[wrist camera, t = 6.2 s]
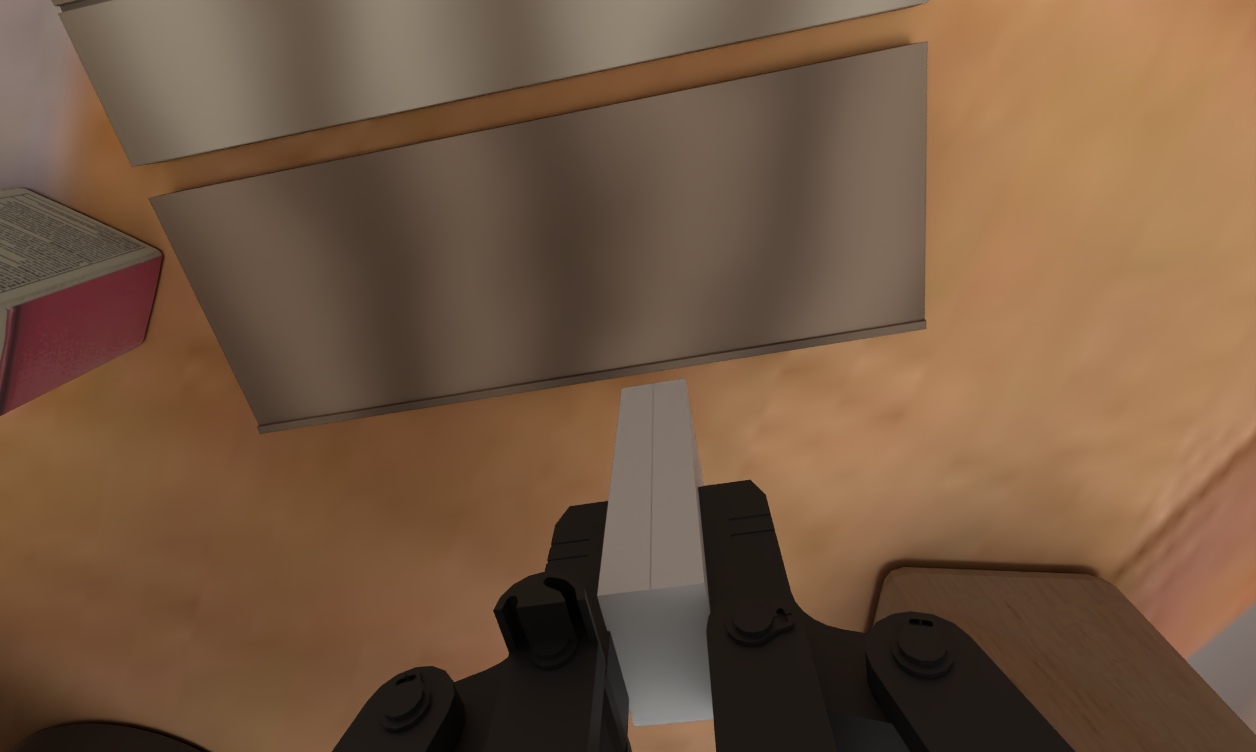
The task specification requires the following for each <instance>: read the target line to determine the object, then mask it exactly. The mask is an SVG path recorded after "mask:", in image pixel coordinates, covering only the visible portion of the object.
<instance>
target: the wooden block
mask: <svg viewBox="0 0 1256 752" xmlns="http://www.w3.org/2000/svg"><path fill="white" fill-rule="evenodd" d="M909 611H914V612H921V613H928V614H934V615H936V616H938V617H941V618H943V619H945V620H948V621H950V622H952V623H954V624H956V625H957V626H958V627H959V628H961V629H962V630H963V631H964V632H966V633H967V634H968V635H969V636H971V637H972V639H973V640H974V641H975V642H976V643H977V644H978V645H979V646H980V647H981V648H982V650H983V651H984V652H985V653H986V654H987V655H988V656H989V657H990V658H991V659H992V661H993V662H994V663H995V664H996V665H997V666H998V667H999V668H1000V669H1001V670H1002V671H1003V673H1004V674H1005V675H1006V676H1007V677H1008V678H1009V679H1010V680H1011V681H1012V682H1013V684H1014V685H1015V686H1016V687H1017V688H1018V689H1019V690H1020V691H1021V692H1022V693H1023V695H1024V696H1025V697H1026V698H1027V699H1028V700H1029V701H1030V702H1031V703H1032V704H1033V705H1034V707H1035V708H1036V709H1037V710H1038V711H1039V712H1040V713H1041V714H1042V715H1043V716H1044V718H1045V719H1046V720H1047V721H1048V722H1049V723H1050V724H1051V725H1052V726H1053V727H1054V729H1055V730H1056V731H1057V732H1058V733H1059V734H1060V735H1061V736H1062V737H1063V738H1064V739H1065V741H1066V742H1067V743H1068V744H1069V745H1070V746H1071V747H1072V748H1073V749H1074V750H1075V752H1256V735H1255V734H1254V732H1253V731H1252V730H1250V728H1249V727H1248V726H1247V725H1246V724H1245V723H1244V722H1243V721H1242V720H1241V719H1240V718H1239V717H1238V716H1237V714H1235V712H1234V711H1233V710H1232V709H1231V708H1230V707H1229V706H1228V705H1227V704H1226V703H1225V702H1224V701H1223V700H1222V699H1221V698H1220V697H1219V695H1218V694H1217V693H1216V692H1215V691H1214V690H1213V689H1212V688H1211V687H1210V686H1209V685H1208V684H1207V683H1206V682H1205V681H1204V680H1203V678H1202V677H1201V676H1200V675H1199V674H1198V673H1197V672H1196V671H1195V670H1194V669H1193V668H1192V667H1191V666H1190V665H1189V664H1188V663H1187V661H1186V660H1185V659H1184V658H1183V657H1182V656H1181V655H1180V654H1179V653H1178V652H1177V651H1176V650H1175V649H1174V648H1173V647H1172V646H1171V645H1170V643H1169V642H1168V641H1167V640H1166V639H1165V638H1164V637H1163V636H1162V635H1161V634H1160V633H1159V632H1158V631H1157V630H1156V629H1155V628H1154V627H1153V625H1152V624H1151V623H1150V622H1149V621H1148V620H1147V619H1146V618H1145V617H1144V616H1143V615H1142V614H1141V613H1140V612H1139V611H1138V610H1137V609H1136V607H1135V606H1134V605H1133V604H1132V603H1131V602H1130V601H1129V600H1128V599H1127V598H1126V597H1125V596H1124V595H1123V594H1122V593H1121V592H1120V591H1119V589H1118V588H1117V587H1116V586H1114V585H1112V584H1110V583H1109V582H1107V581H1105V580H1103V579H1101V578H1098V577H1095V576H1092V575H1089V574H1070V573H1045V572H1019V571H994V570H968V569H943V568H918V567H902V568H899V569H895V570H892V571H890V573H889V574H888V575H887V576H886V578H885V579H884V583H883V587H882V591H881V595H880V599H879V603H878V606H877V610H876V614H875V618H874V622H873V626H874V624H875V623H876V622H877V621H879V620H881V619H883V618H885V617H887V616H889V615H891V614H895V613H902V612H909ZM873 626H872V627H873Z"/></svg>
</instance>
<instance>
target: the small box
mask: <svg viewBox="0 0 1256 752" xmlns="http://www.w3.org/2000/svg"><path fill="white" fill-rule="evenodd" d="M161 261H162V254H161V252H160V251H159V250H157V249H155V248H153V247H151V246H149V245H147V244H145V243H143V242H141V241H139V240H137V239H135V238H133V237H131V236H128V235H126V234H124V233H122V232H120V231H118V230H116V229H113V228H111V227H109V226H107V225H105V224H102V223H100V222H98V221H96V220H94V219H92V218H89V217H87V216H85V215H83V214H81V213H78V212H76V211H74V210H72V209H70V208H68V207H65V206H63V205H61V204H59V203H56V202H54V201H52V200H50V199H47V198H45V197H43V196H41V195H38V194H36V193H34V192H32V191H30V190H27V189H24V188H16V189H9V190H3V191H0V416H1V415H3V414H5V413H7V412H9V411H11V410H13V409H15V408H17V407H19V406H21V405H23V404H25V403H27V402H29V401H31V400H33V399H34V398H36V397H39V396H40V395H42V394H44V393H46V392H48V391H50V390H52V389H54V388H56V387H59V386H61V385H63V384H64V383H66V382H68V381H70V380H72V379H74V378H77V377H79V376H81V375H82V374H84V373H86V372H88V371H90V370H92V369H94V368H96V367H98V366H100V365H102V364H104V363H106V362H108V361H110V360H112V359H114V358H116V357H118V356H120V355H122V354H124V353H126V352H128V351H130V350H132V349H134V348H136V347H138V346H139V345H141V344H142V342H143V340H144V336H145V332H146V328H147V324H148V320H149V316H150V312H151V308H152V304H153V300H154V295H155V290H156V286H157V281H158V276H159V271H160V266H161Z"/></svg>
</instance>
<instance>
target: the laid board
mask: <svg viewBox="0 0 1256 752" xmlns="http://www.w3.org/2000/svg"><path fill="white" fill-rule="evenodd" d="M52 2H53V4H54V6H60V8H61V10H62V12H61V13H58V15H59V17H60V19H61V21H62V23H63V25H64V27H65V29H66V31H67V33H68V35H69V37H70V39H71V41H72V44H73V46H74V48H75V50H76V52H77V54H78V56H79V58H80V60H81V62H82V64H83V66H84V68H85V70H86V73H87V75H88V77H89V79H90V81H91V83H92V85H93V87H94V89H95V91H96V93H97V95H98V97H99V99H100V102H101V104H102V106H103V108H104V110H105V112H106V114H107V116H108V118H109V120H110V122H111V124H112V126H113V128H114V131H115V133H116V135H117V137H118V139H119V141H120V143H121V145H122V147H123V149H124V151H125V153H126V155H127V157H128V159H129V162H130V164H131V166H132V167H134V166H141V165H148V164H154V163H161V162H166V161H170V160H175V159H180V158H185V157H190V156H195V155H199V154H204V153H209V152H214V151H219V150H224V149H228V148H233V147H238V146H243V145H248V144H253V143H257V142H262V141H267V140H272V139H277V138H282V137H286V136H291V135H296V134H301V133H306V132H311V131H315V130H320V129H325V128H330V127H335V126H340V125H344V124H349V123H354V122H359V121H364V120H369V119H374V118H378V117H383V116H388V115H393V114H398V113H403V112H407V111H412V110H417V109H422V108H427V107H432V106H436V105H441V104H446V103H451V102H456V101H461V100H465V99H470V98H475V97H480V96H485V95H490V94H494V93H499V92H504V91H509V90H514V89H519V88H523V87H528V86H533V85H538V84H543V83H548V82H552V81H557V80H562V79H567V78H572V77H577V76H581V75H586V74H591V73H596V72H601V71H606V70H611V69H615V68H620V67H625V66H630V65H635V64H640V63H644V62H649V61H654V60H659V59H664V58H669V57H673V56H678V55H683V54H688V53H693V52H698V51H702V50H707V49H712V48H717V47H722V46H727V45H731V44H736V43H741V42H746V41H751V40H756V39H760V38H765V37H770V36H775V35H780V34H785V33H789V32H794V31H799V30H804V29H809V28H814V27H818V26H823V25H828V24H833V23H838V22H843V21H848V20H852V19H857V18H862V17H867V16H872V15H877V14H881V13H886V12H891V11H896V10H901V9H906V8H910V7H914V6H917V5H920V4H924V3H927V2H929V0H52Z"/></svg>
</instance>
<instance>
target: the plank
mask: <svg viewBox="0 0 1256 752" xmlns="http://www.w3.org/2000/svg"><path fill="white" fill-rule="evenodd" d="M927 52H928V42H921V43H914V44H909V45H904V46H899V47H894V48H889V49H884V50H879V51H874V52H869V53H864V54H859V55H854V56H849V57H844V58H839V59H834V60H829V61H824V62H819V63H814V64H809V65H804V66H799V67H794V68H789V69H784V70H779V71H774V72H769V73H764V74H759V75H754V76H750V77H745V78H740V79H735V80H730V81H725V82H720V83H715V84H710V85H705V86H700V87H695V88H690V89H685V90H680V91H675V92H670V93H665V94H660V95H655V96H650V97H645V98H640V99H635V100H630V101H625V102H620V103H615V104H610V105H605V106H600V107H595V108H590V109H585V110H581V111H576V112H571V113H566V114H561V115H556V116H551V117H546V118H541V119H536V120H531V121H526V122H521V123H516V124H511V125H506V126H501V127H496V128H491V129H486V130H481V131H476V132H471V133H466V134H461V135H456V136H451V137H446V138H441V139H436V140H431V141H426V142H421V143H416V144H412V145H407V146H402V147H397V148H392V149H387V150H382V151H377V152H372V153H367V154H362V155H357V156H352V157H347V158H342V159H337V160H332V161H327V162H322V163H317V164H312V165H307V166H302V167H297V168H292V169H287V170H282V171H277V172H272V173H267V174H262V175H257V176H252V177H248V178H243V179H238V180H233V181H228V182H223V183H218V184H213V185H208V186H203V187H198V188H193V189H188V190H183V191H178V192H173V193H169V194H164V195H160V196H156V197H151V198H149V200H150V202H151V205H152V207H153V209H154V211H155V213H156V215H157V217H158V219H159V221H160V223H161V225H162V227H163V229H164V231H165V233H166V235H167V237H168V239H169V241H170V243H171V246H172V248H173V250H174V252H175V254H176V256H177V258H178V260H179V262H180V264H181V266H182V268H183V270H184V272H185V274H186V276H187V278H188V280H189V282H190V284H191V287H192V289H193V291H194V293H195V295H196V297H197V299H198V301H199V303H200V305H201V307H202V309H203V311H204V313H205V315H206V317H207V319H208V321H209V323H210V325H211V327H212V330H213V332H214V334H215V336H216V338H217V340H218V342H219V344H220V346H221V348H222V350H223V352H224V354H225V356H226V358H227V360H228V362H229V364H230V366H231V368H232V371H233V373H234V375H235V377H236V379H237V381H238V383H239V385H240V387H241V389H242V391H243V393H244V395H245V397H246V399H247V401H248V403H249V405H250V407H251V409H252V412H253V414H254V416H255V418H256V420H257V422H258V424H259V426H258V427H257V428H258V430H259V432H260V434H262V433H269V432H275V431H281V430H288V429H294V428H300V427H307V426H313V425H320V424H326V423H332V422H339V421H345V420H351V419H358V418H364V417H370V416H377V415H383V414H389V413H396V412H402V411H408V410H415V409H421V408H427V407H434V406H440V405H446V404H453V403H459V402H466V401H472V400H478V399H485V398H491V397H497V396H504V395H510V394H516V393H523V392H529V391H535V390H542V389H548V388H554V387H561V386H567V385H573V384H580V383H586V382H592V381H599V380H605V379H612V378H618V377H624V376H631V375H637V374H643V373H650V372H656V371H662V370H669V369H675V368H681V367H688V366H694V365H700V364H707V363H713V362H719V361H726V360H732V359H738V358H745V357H751V356H758V355H764V354H770V353H777V352H783V351H789V350H796V349H802V348H808V347H815V346H821V345H827V344H834V343H840V342H846V341H853V340H859V339H865V338H872V337H878V336H884V335H891V334H897V333H904V332H910V331H916V330H923V329H926V320H925V233H926V142H927Z"/></svg>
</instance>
